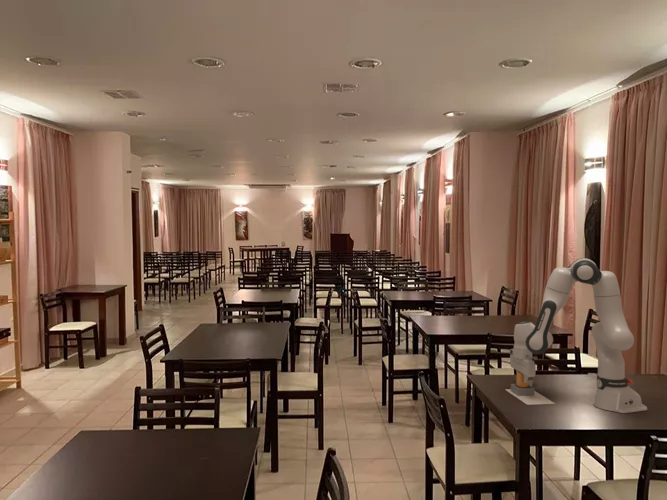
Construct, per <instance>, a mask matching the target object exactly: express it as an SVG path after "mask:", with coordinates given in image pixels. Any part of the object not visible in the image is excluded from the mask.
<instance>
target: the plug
mask: <svg viewBox="0 0 667 500" xmlns="http://www.w3.org/2000/svg"><path fill="white" fill-rule="evenodd" d="M523 378H524V376H523V374H522V373H521V372H519V371H517V372H516V380H515V381H516V382H515V384H516V385H517V386H519V387H528V379H527V383H524V382H523Z"/></svg>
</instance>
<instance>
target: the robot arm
mask: <svg viewBox="0 0 667 500" xmlns="http://www.w3.org/2000/svg"><path fill="white" fill-rule="evenodd" d="M577 282H579V283H581V284H586V285H587V284H588V285H591V287H592V291H593V300H594V308H595V313H596V315H597V316H598V319H599V321H598V322H596V323H594V324H593V326H592V327H591V336H592V337H593V340H594V344H595V348H596V354H597V375H596V393H595V397H594V398H595V399H594V401H593V406H595V407H596V408H599V409H601V410H605V411H610V412H616V413H620V414H629V413H635V412H636V413H638V412H645V411H648V406H646V405H645V404H643V403H642V397H641V395H640V394H639V393H638V392H637V391H635V390H634V389H633V388H631V386H629V385H633V383H634V381H633V380H632V379H630V378H626V376H625V373H626V372H625V370H626V369H625V367H626V366H625V365H626V362H625V359H624V357H623V354H622V351H628V350H630V349H631V348H632V347H634V346H633V345H634V343H635V337H634V335H633V333H632V332H631V330H630V327H629V326H628V322H627V320H626V317H625V314H624V311H623V305H622V297H621V290H620V285H619V282H618V278H617V276H616V274H615V273H614V272H613V271H610V270H609V271H608V270H600V269H599V268H598V266H597V264H596V263H595V262H594V261H593V260H591V259H590V258H587V257H580V258H578V259H575V260H574V261H573V262H572V263H571V264H569V266H568V267H563V266H559V267H555V268H554V269H553V270H552V272H551V274H550V276H549V278H548V280H547V282H546V286H545V289H544V292H543V296H542V297H543V298H542V302H541V306H540V307H541V308H540V311H539V313H538V314H539V315H538V317H537V320H536V323H535V324H534V323H533V322H532V321H526V320H525V321H519V322H517V323H516V324H515V325H514V329H513V340H514V344H513V348H511V349H509V354H510V355H509V364H510V367H511V368H512V369H514V370H515V371H516V373H517V371H519V372H521V373H522V374H523V376H524V378H523V382H524V383H527V379H528V377H533V378H535V377H536V362H535V363H534V361H535V360H534V361H533V360H532V358H533V354H535V355H542V354H544V353H545V352H546V351H547V350H548V349H549V348H550V347H551V346H552V345H553V343H554V336H553V334H552V332H551V331H550V328H551V326H552V323H553V320H554V319H555V317H556V315H557V314H558V313H559V312H560V311H561V310H562V309H563V307H565V306H566V305H565V304H566V303H567V301H568V299H569V297H570V295H571V291H572V289H573V285H574V284H575V283H577Z"/></svg>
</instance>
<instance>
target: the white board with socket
mask: <svg viewBox="0 0 667 500" xmlns="http://www.w3.org/2000/svg"><path fill="white" fill-rule="evenodd" d="M504 390H505V391H506V392H508V393H509V394H511V395H512V396H514V397H515V398H517V399H518V400H520V401H521V402H523V403H524V404H526V405H527V406H529V405H532V406H533V405H553V404H554V405H555V404H556V403H555V402H554V401H552V400H550V399H549V398H547V397H545V396H544V395H542V394H540V393H539V392H537V391H536V390H535V388H534V387H533V386H530V385H528V387H519V386H517V385H516V383H510V388H509V389H507V388H505V389H504Z"/></svg>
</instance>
